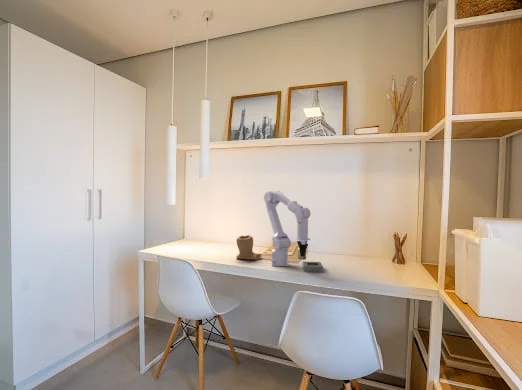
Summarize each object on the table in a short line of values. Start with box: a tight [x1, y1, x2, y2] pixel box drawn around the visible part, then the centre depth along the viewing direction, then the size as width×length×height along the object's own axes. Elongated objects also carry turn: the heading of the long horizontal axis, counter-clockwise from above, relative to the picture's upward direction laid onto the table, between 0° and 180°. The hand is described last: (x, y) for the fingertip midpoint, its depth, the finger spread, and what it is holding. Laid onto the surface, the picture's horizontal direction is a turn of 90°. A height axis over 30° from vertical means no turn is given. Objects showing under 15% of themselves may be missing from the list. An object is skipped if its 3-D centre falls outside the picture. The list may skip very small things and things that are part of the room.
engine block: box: [302, 261, 324, 273], centre depth 156 cm, size 10×10×3 cm
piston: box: [297, 246, 307, 261], centre depth 153 cm, size 5×5×6 cm
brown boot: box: [236, 234, 263, 261], centre depth 178 cm, size 15×12×15 cm
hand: (302, 255), depth 153 cm, fingers closed on piston, 4 cm apart
